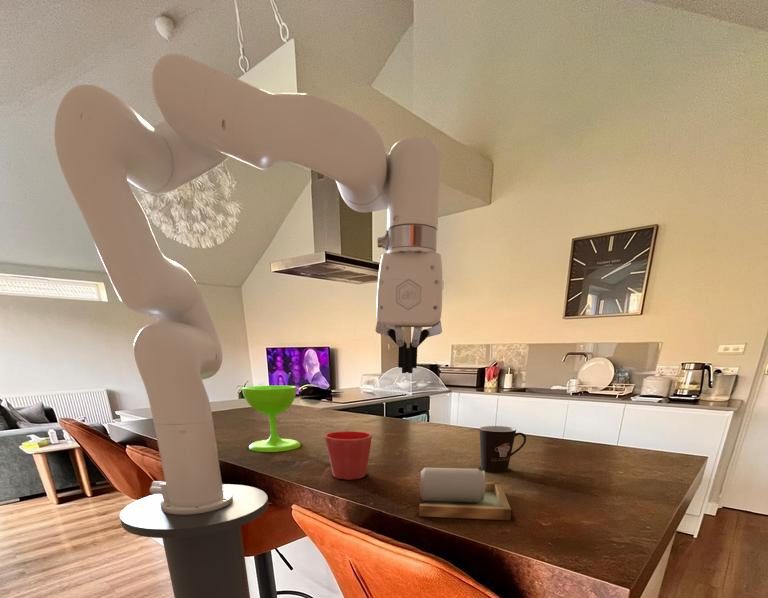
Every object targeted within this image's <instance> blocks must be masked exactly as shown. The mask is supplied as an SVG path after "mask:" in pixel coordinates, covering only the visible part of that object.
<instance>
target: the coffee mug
mask: <svg viewBox="0 0 768 598" xmlns="http://www.w3.org/2000/svg"><path fill="white" fill-rule="evenodd" d="M519 435H520V436H522V437H523V441H522V443H521V445H520V446H518V447H517V448H516V449H514V450H513V448H514V442H515V439H516V437H517V436H519ZM526 442H527V436H526V435H525V434H524V433H523V432H519V431H518V432H517V428H515V427H512V426H505V425H503V426H502V425H501V426H500V425H487V426H481V427H479V446H480V448H479V449H480V450H479V453H480V469H481V471H485V472H486V473H487V472H489V473H505V472H508V470H509V465H510V460H511V457H512V456H514V455H515V454H516V453H518V452H519V451H520V450H521V449H522V448H524V446H525V444H526Z"/></svg>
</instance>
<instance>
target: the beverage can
mask: <svg viewBox="0 0 768 598" xmlns="http://www.w3.org/2000/svg"><path fill="white" fill-rule="evenodd" d="M485 482H486V471H484V470H480V469H479V468H464V467H463V468H462V467H461V468H458V467H457V468H456V467H424V468H423V469H422V470H421V471H420V479H419V498H421V499H422V501H423V502H424V501H443V502H473V503H476V502H478V501H480V500H481V501H483V500H484V496H485Z"/></svg>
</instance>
